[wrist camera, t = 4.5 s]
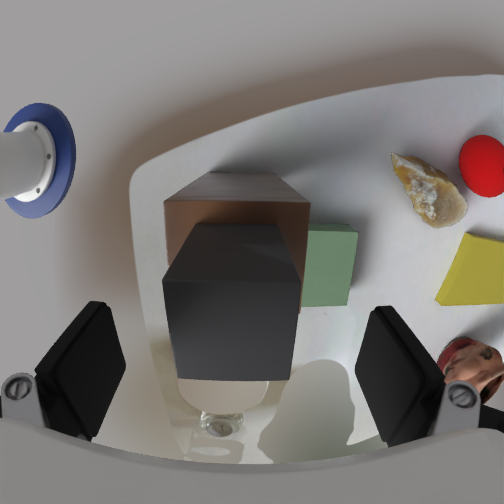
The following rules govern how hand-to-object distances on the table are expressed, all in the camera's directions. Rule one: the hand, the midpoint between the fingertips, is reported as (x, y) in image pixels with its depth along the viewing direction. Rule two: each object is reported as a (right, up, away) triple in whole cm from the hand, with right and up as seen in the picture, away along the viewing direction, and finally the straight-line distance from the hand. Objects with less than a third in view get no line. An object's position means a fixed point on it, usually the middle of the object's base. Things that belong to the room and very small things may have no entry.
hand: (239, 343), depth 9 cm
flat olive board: (+44, 0, +30) cm, 53 cm away
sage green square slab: (+8, +2, +28) cm, 29 cm away
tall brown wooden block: (-1, +9, +25) cm, 26 cm away
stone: (+23, +12, +24) cm, 36 cm away
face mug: (+44, -18, +36) cm, 60 cm away
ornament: (+33, +17, +23) cm, 44 cm away
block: (0, +3, +7) cm, 7 cm away
